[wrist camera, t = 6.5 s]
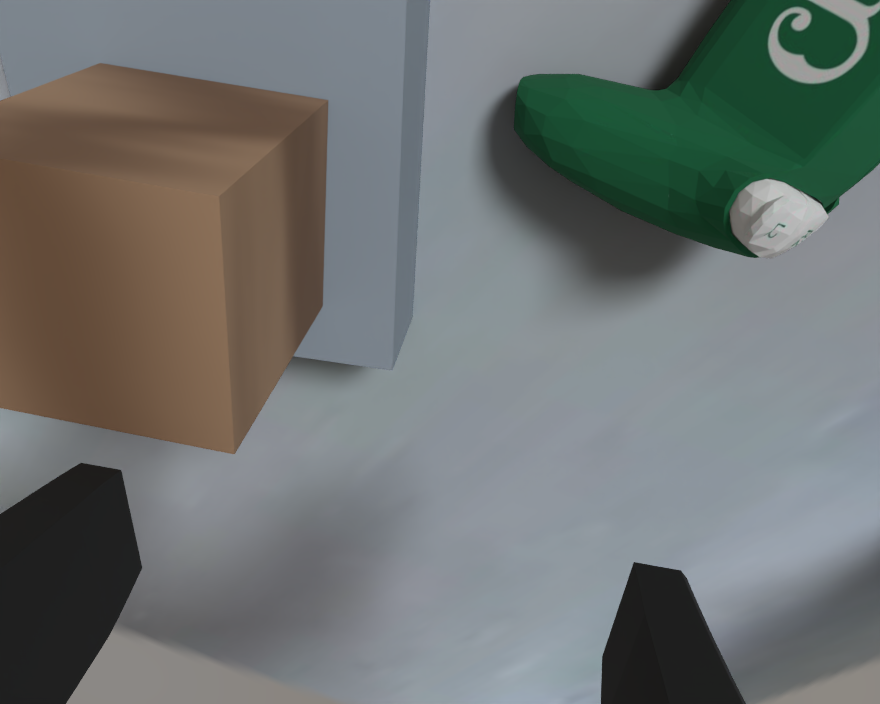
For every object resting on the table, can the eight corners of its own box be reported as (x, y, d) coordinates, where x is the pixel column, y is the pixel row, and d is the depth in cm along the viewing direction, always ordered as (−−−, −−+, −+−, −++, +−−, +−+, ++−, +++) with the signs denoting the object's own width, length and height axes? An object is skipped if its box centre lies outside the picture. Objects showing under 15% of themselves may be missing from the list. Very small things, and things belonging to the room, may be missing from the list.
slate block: (435, -31, 15) (407, -15, 12) (415, 307, 19) (392, 370, 17) (68, -65, 16) (-28, -56, 13) (130, 269, 20) (67, 323, 17)
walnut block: (328, 100, 14) (218, 196, 9) (322, 306, 16) (233, 454, 12) (100, 62, 14) (-104, 140, 10) (129, 271, 16) (-22, 402, 12)
